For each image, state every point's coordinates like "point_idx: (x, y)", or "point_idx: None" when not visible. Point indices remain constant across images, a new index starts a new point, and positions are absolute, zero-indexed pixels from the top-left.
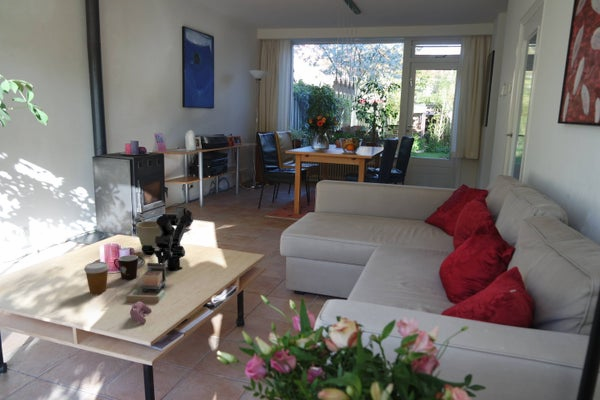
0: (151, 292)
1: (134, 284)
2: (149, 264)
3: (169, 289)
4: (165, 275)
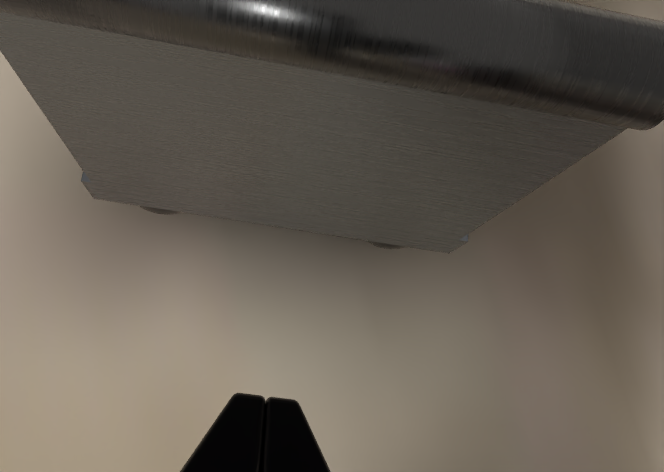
0: None
1: (651, 375)
2: (584, 13)
3: None
4: (73, 150)
